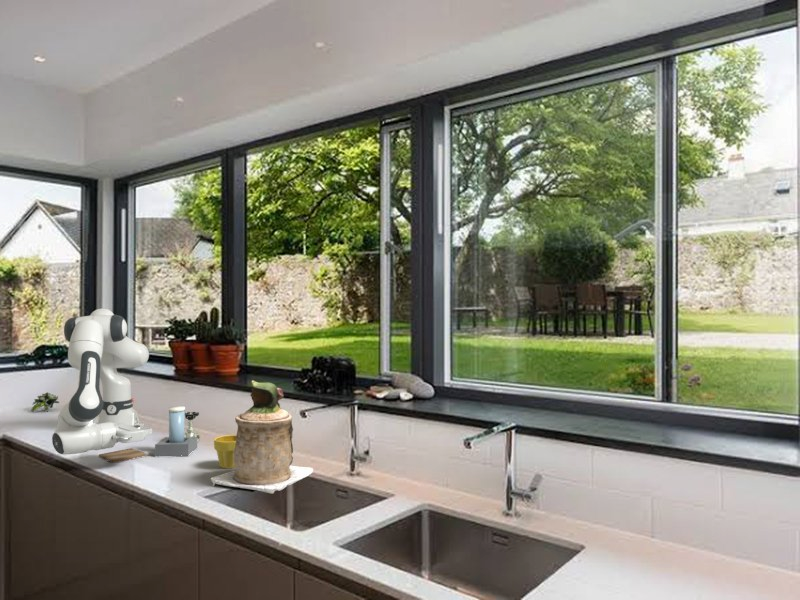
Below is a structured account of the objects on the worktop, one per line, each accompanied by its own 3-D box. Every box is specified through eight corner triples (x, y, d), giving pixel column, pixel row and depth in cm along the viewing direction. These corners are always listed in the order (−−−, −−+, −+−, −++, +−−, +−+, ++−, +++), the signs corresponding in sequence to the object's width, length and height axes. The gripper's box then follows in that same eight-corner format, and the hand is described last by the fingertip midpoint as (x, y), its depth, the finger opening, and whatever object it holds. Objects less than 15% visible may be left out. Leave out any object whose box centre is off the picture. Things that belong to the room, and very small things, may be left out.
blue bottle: (171, 450, 230) (171, 406, 230) (186, 450, 230) (186, 406, 230) (166, 454, 224) (166, 409, 224) (182, 454, 224) (182, 408, 224)
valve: (193, 445, 238) (193, 415, 238) (178, 444, 240) (178, 414, 240) (202, 441, 245) (202, 412, 245) (187, 440, 246) (187, 411, 246)
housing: (165, 448, 233) (165, 437, 233) (197, 448, 234) (197, 436, 234) (155, 456, 221) (155, 444, 221) (188, 456, 222) (188, 444, 222)
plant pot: (209, 470, 204) (209, 441, 204) (220, 461, 214) (220, 434, 214) (239, 470, 203) (239, 441, 203) (248, 462, 214) (248, 434, 214)
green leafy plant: (46, 420, 314) (60, 399, 320) (51, 419, 306) (65, 398, 312) (25, 409, 309) (39, 389, 315) (30, 408, 301) (44, 387, 307)
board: (98, 457, 220) (98, 454, 220) (131, 450, 229) (131, 448, 229) (113, 463, 212) (113, 460, 212) (146, 456, 222) (146, 453, 221)
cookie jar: (276, 495, 178) (276, 387, 178) (207, 486, 187) (207, 383, 186) (315, 472, 201) (315, 377, 201) (253, 465, 210) (253, 374, 210)
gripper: (119, 430, 201) (159, 424, 211) (94, 422, 214) (132, 416, 224) (119, 449, 201) (159, 442, 211) (94, 440, 214) (132, 433, 224)
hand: (145, 429), depth 218 cm, fingers open, 8 cm apart
